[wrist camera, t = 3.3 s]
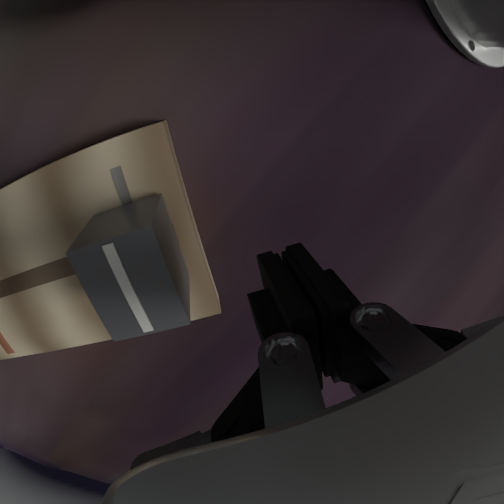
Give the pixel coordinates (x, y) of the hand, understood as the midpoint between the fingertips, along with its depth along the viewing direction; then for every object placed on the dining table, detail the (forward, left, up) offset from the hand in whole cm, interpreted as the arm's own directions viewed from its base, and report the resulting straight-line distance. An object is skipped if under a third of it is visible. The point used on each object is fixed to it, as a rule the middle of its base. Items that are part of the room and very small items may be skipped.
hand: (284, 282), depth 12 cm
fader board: (+16, 0, -8) cm, 18 cm away
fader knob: (+6, 0, -6) cm, 9 cm away
